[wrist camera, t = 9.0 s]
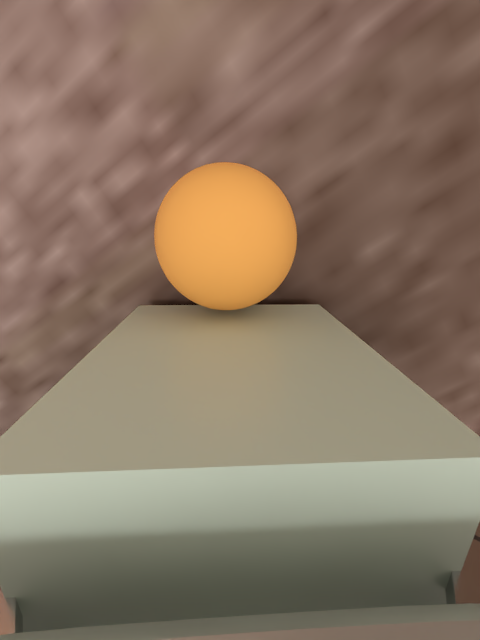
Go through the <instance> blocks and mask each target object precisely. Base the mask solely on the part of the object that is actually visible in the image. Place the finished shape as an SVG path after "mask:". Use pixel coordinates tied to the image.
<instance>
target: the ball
mask: <svg viewBox="0 0 480 640" xmlns="http://www.w3.org/2000/svg"><path fill="white" fill-rule="evenodd" d="M154 237H155V248H156V253H157V257H158V260H159V263H160V265H161V267H162V269H163V271H164V273H165V275H166V277H167V278H168V280H169V281H170V283H171V284H172V285H173V286H174V287H175V288H176V289H177V290H178V291H179V292H180V293H181V294H182V295H184V296H185V297H186V298H188V299H189V300H191V301H193V302H195V303H197V304H199V305H201V306H204V307H207V308H211V309H216V310H237V309H242V308H246V307H249V306H252V305H254V304H256V303H258V302H260V301H262V300H263V299H265V298H267V297H268V296H269V295H270V294H271V293H273V292H274V291H275V290H276V289H277V288H278V287H279V285H280V284H281V283H282V282H283V280H284V279H285V277H286V276H287V274H288V272H289V270H290V268H291V265H292V262H293V259H294V256H295V252H296V246H297V230H296V223H295V219H294V215H293V212H292V209H291V206H290V204H289V202H288V200H287V199H286V197H285V195H284V194H283V193H282V191H281V190H280V188H279V187H278V186H277V185H276V184H275V183H274V182H273V181H272V180H271V179H269V178H268V177H267V176H266V175H264V174H263V173H261V172H259V171H257V170H256V169H253V168H251V167H249V166H246V165H242V164H238V163H230V162H219V163H212V164H207V165H204V166H201V167H198V168H196V169H194V170H192V171H190V172H189V173H187V174H186V175H184V176H183V177H182V178H180V179H179V180H178V181H177V182H176V183H175V184H174V185H173V186H172V187H171V189H170V190H169V191H168V193H167V194H166V196H165V197H164V199H163V201H162V203H161V205H160V208H159V211H158V213H157V217H156V222H155V232H154Z"/></svg>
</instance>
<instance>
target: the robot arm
mask: <svg viewBox="0 0 480 640" xmlns="http://www.w3.org/2000/svg"><path fill="white" fill-rule="evenodd" d="M445 592H446V602H447V604H440V605H413V606H394V607H377V608H360V609H343V610H326V611H309V612H294V613H278V614H263V615H248V616H233V617H218V618H203V619H188V620H174V621H160V622H146V623H132V624H118V625H104V626H90V627H77V628H66V629H56V630H45V631H34V632H24V633H23V616H22V613H21V610H20V608H19V605H18V602H17V599H16V597H12V598H4V595H3V592H2V590H1V587H0V640H480V522H479V524H478V527H477V530H476V532H475V535H474V538H473V540H472V543H471V546H470V549H469V551H468V554H467V557H466V559H465V562H464V565H463V567H462V570H461V571H452V572H451V575H450V578H449V581H448V584H447V586H446V589H445Z"/></svg>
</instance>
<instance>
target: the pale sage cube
mask: <svg viewBox="0 0 480 640" xmlns="http://www.w3.org/2000/svg"><path fill="white" fill-rule="evenodd" d="M479 522H480V437H479V436H478V435H477V434H476V433H474V432H473V431H472V430H471V429H470V428H468V427H467V426H466V425H465V424H464V423H462V422H461V421H460V420H459V419H457V418H456V417H455V416H454V415H453V414H451V413H450V412H449V411H448V410H447V409H445V408H444V407H443V406H442V405H440V404H439V403H438V402H437V401H436V400H434V399H433V398H432V397H431V396H430V395H428V394H427V393H426V392H425V391H423V390H422V389H421V388H420V387H419V386H417V385H416V384H415V383H414V382H412V381H411V380H410V379H409V378H408V377H406V376H405V375H404V374H403V373H402V372H400V371H399V370H398V369H397V368H395V367H394V366H393V365H392V364H391V363H389V362H388V361H387V360H386V359H385V358H383V357H382V356H381V355H380V354H378V353H377V352H376V351H375V350H374V349H372V348H371V347H370V346H369V345H368V344H366V343H365V342H364V341H363V340H361V339H360V338H359V337H358V336H357V335H355V334H354V333H353V332H352V331H350V330H349V329H348V328H347V327H346V326H344V325H343V324H342V323H341V322H340V321H338V320H337V319H336V318H335V317H333V316H332V315H331V314H330V313H329V312H327V311H326V310H325V309H324V308H323V307H321V306H320V305H319V304H296V305H252V306H249V307H246V308H242V309H237V310H216V309H211V308H207V307H204V306H201V305H139V306H138V307H137V308H136V309H135V310H134V311H133V312H132V313H131V314H130V315H128V316H127V317H126V318H125V319H124V320H123V321H122V322H121V323H120V324H119V325H118V326H117V327H116V328H115V329H114V330H113V331H112V332H110V333H109V334H108V335H107V336H106V337H105V338H104V339H103V340H102V341H101V342H100V343H99V344H98V345H97V346H96V347H95V348H94V349H93V350H91V351H90V352H89V353H88V354H87V355H86V356H85V357H84V358H83V359H82V360H81V361H80V362H79V363H78V364H77V365H76V366H75V367H74V368H72V369H71V370H70V371H69V372H68V373H67V374H66V375H65V376H64V377H63V378H62V379H61V380H60V381H59V382H58V383H57V384H56V385H54V386H53V387H52V388H51V389H50V390H49V391H48V392H47V393H46V394H45V395H44V396H43V397H42V398H41V399H40V400H39V401H38V402H37V403H35V404H34V405H33V406H32V407H31V408H30V409H29V410H28V411H27V412H26V413H25V414H24V415H23V416H22V417H21V418H20V419H19V420H18V421H16V422H15V423H14V424H13V425H12V426H11V427H10V428H9V429H8V430H7V431H6V432H5V433H4V434H3V435H2V436H1V437H0V587H1V590H2V592H3V595H4V598H12V597H16V599H17V602H18V605H19V608H20V610H21V613H22V616H23V633H24V632H34V631H45V630H56V629H66V628H77V627H90V626H104V625H118V624H132V623H146V622H160V621H174V620H188V619H203V618H218V617H233V616H248V615H263V614H278V613H294V612H309V611H326V610H343V609H360V608H377V607H394V606H413V605H440V604H447V602H446V592H445V589H446V586H447V584H448V581H449V578H450V575H451V572H452V571H461V570H462V567H463V565H464V562H465V559H466V557H467V554H468V551H469V549H470V546H471V543H472V540H473V538H474V535H475V532H476V530H477V527H478V524H479Z"/></svg>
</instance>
